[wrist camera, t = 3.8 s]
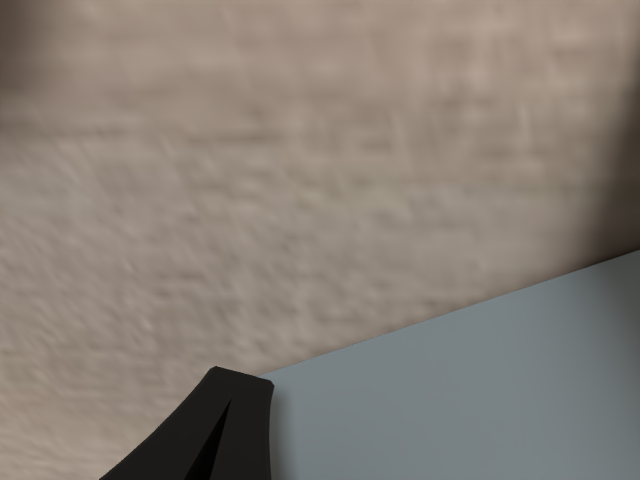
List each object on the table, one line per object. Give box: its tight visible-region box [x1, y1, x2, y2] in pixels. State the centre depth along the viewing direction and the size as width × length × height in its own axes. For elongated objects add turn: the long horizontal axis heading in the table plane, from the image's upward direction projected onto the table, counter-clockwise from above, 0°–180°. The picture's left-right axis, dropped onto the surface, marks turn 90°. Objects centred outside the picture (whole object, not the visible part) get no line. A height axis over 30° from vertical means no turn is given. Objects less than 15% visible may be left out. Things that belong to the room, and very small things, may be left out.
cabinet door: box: [256, 250, 640, 480], centre depth 12 cm, size 16×2×6 cm, turn 118°
